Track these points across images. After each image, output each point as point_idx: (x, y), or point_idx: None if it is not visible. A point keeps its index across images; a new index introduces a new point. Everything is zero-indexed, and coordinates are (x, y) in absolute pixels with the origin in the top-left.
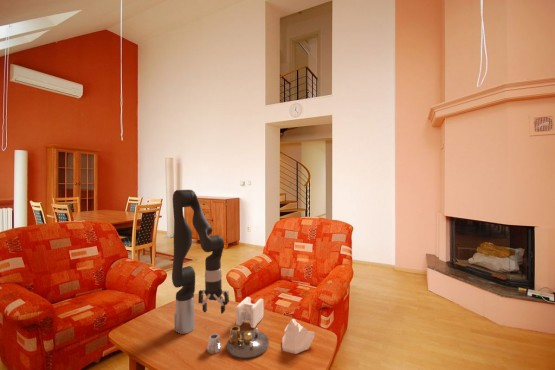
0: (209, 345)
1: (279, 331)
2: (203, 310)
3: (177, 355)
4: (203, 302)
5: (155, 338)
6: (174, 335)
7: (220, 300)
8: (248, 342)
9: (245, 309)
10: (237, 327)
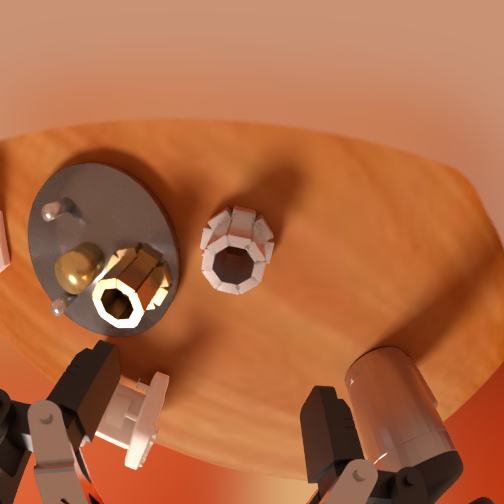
0: (260, 238)
1: (30, 313)
2: (338, 404)
3: (399, 214)
4: (360, 488)
5: (461, 320)
6: (412, 338)
7: (37, 476)
8: (79, 245)
9: (130, 425)
10: (109, 313)
